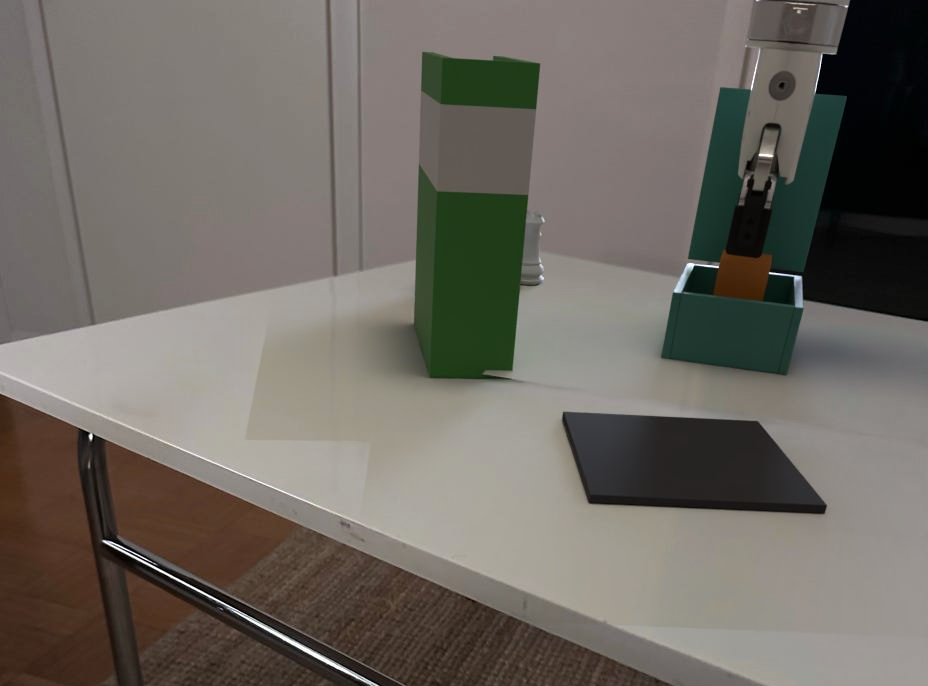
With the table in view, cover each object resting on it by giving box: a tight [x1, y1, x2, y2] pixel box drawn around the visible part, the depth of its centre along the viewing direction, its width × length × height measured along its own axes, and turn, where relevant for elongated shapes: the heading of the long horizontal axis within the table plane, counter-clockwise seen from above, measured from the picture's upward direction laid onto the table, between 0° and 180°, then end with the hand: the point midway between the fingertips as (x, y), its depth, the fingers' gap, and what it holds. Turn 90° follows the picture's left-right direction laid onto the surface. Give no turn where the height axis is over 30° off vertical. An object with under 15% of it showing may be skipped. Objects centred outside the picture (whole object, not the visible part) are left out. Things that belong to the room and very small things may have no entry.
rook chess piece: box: [520, 209, 546, 286], centre depth 113 cm, size 4×4×8 cm
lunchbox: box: [660, 262, 805, 376], centre depth 91 cm, size 15×12×7 cm
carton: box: [713, 250, 772, 301], centre depth 90 cm, size 5×5×8 cm
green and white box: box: [413, 51, 541, 380], centre depth 83 cm, size 18×7×24 cm, turn 6°
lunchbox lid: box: [687, 86, 848, 273], centre depth 91 cm, size 15×12×1 cm
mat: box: [561, 411, 828, 514], centre depth 68 cm, size 16×16×1 cm
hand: (744, 246), depth 87 cm, fingers open, 9 cm apart
